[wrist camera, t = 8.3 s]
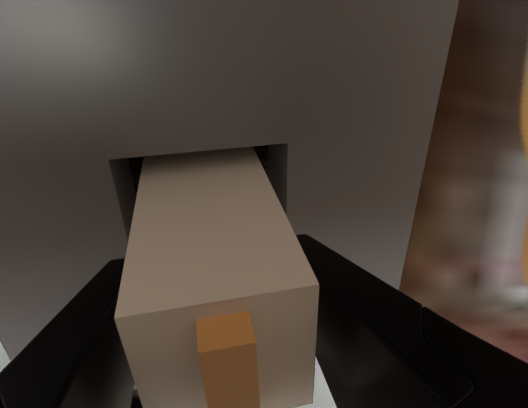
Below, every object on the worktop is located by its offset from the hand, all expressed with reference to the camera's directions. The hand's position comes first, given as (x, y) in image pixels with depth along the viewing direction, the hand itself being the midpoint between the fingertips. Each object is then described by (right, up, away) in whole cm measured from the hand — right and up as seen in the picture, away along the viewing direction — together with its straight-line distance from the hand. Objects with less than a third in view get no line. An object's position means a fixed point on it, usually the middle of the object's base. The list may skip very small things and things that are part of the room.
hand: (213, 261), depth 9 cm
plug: (-1, +2, +3) cm, 4 cm away
